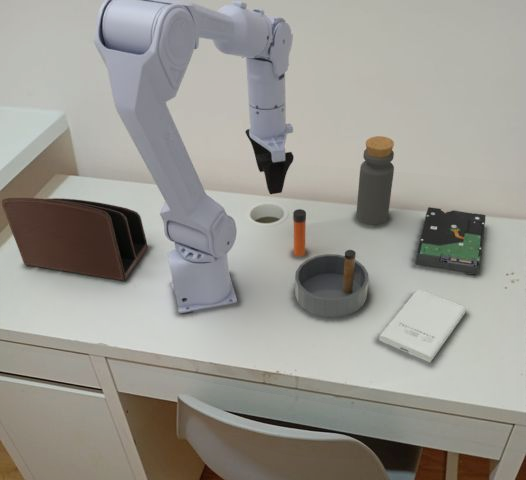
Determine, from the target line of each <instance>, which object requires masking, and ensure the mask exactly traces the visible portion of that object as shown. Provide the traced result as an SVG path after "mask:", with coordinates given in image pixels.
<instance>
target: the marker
mask: <svg viewBox="0 0 526 480" xmlns="http://www.w3.org/2000/svg"><path fill="white" fill-rule="evenodd" d="M292 213H293V214H292V219H293V255H295V256H297V257H303V256H305V255H306V223H307V222H306V221H307V212H306V210H304V209H301V208H298V209H295V210H294V211H293V212H292Z"/></svg>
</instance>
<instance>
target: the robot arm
mask: <svg viewBox="0 0 526 480" xmlns="http://www.w3.org/2000/svg"><path fill="white" fill-rule="evenodd" d="M247 6H248V5H247V2H243V1H238V0H232V1H231V4H225V5H223V6H221V7H220V8H219V9H218V10H214V9H211V8H209V7H205V6H203V5H200V4H198V3H194V2H192V1H188V0H187V1H186V0H103V2H102V3H101V4H100V7H99V9H98V13H97V17H96V23H95V28H94V33H93V34H94V35H93V40H92V41H93V44H94V46H95V48H96V50H97V51H98V53H99V55H100V57H101V60H102V61H103V64H104V65H105V67H106V69H107V74H108V79H109V85H110V89H111V94H112V100H113V103H114V107H115V110H116V112H117V114H118V116H119V118H120V120H121V122H122V124H123V125H124V127H125V129H126V131H127V133H128V135H129V136H130V138H131V140H132V142H133V144H134V146H135V147H136V149H137V152H138V153H139V155H140V157H141V158H142V161H143V162H144V164H145V166H146V168H147V169H148V170H147V171H149V173H150V175H151V178H152V179H153V181H154V183H155V184H156V186H157V188H158V190H159V192H160V194H161V196H162V197H163V199H164V201H165V202H164V203H163V205H162V207H161V209H160V210H159V211H160V212H159V215H160V217H161V219H162V223H163V232H164V235H165V238H166V239H167V240H169V241H170V242H173V243H174V247H175V249H172V250H170V251H167V252H166V253H167V259H168V264H169V270H170V275H171V280H172V282H171V283H170V285H171V291H172V294H173V295H175V299H176V300H175V301H176V305H177V310H178V313H179V314H184V313H190V312H194V311H198V310H205V309H210V308H215V307H221V306H226V305H232V304H237V302H238V299H237V294H236V292H235V289H234V285H233V282H232V278H231V275H230V268H229V260H228V259H229V258H228V254H229V253H230V251H231V250H232V248H233V247H234V245H235V242H236V239H237V232H238V231H237V224H236V221H235V219H234V218H233V217H232V216H230V215H229V214H228V213H227V212H226V210H225V208H224V206H222V205H221V204H220V203H219V202H217V200H214V198H212V196H209V194H207V193H206V190H205V188H204V186H203V184H202V182H201V179H200V177H199V175H198V173H197V171H196V169H195V165H194V163H193V161H192V159H191V157H190V155H189V152H188V150H187V148H186V145H185V144H184V141H183V139H182V137H181V134H180V132H179V130H178V127H177V126H176V123H175V121H174V119H173V117H172V114H171V112H170V109H169V107H168V105H167V102H168V101H171V100H173V99H174V98H175V97H176V96H177V93H178V91H179V88H180V86H181V84H182V82H183V79H184V78H185V77H184V76H185V75H186V71H187V70H188V67H189V64H190V62H191V60H192V57H193V54H194V51H195V50H197V49H198V48H199V46H200V45H199V43H200V39H205V40H211V41H212V43H213V44H214V47H215V48H216V49H217V50H218V51H219V52H221V53H222V54H226V55H229V56H230V55H231V56H236V57H241V58H242V59H244V58H245V63H246V64H245V66H246V80H247V81H246V82H247V96H248V97H247V98H248V114H249V116H248V117H249V128H247V129H246V130H245V134H246V137H247V138H248V140H249V141H250V144H251V146H252V150H253V153H254V157H255V162H256V165H257V169H258V171H259V173H263V174H264V178H265V183H266V187H267V191H268V194H269V195H275V194H281V193H283V190H284V185H285V181H286V177H287V174H288V171H289V169H290V167H291V164H293V162H294V154H293V152H292V151H288V152H287V151H286V148H285V145H286V142H287V141H286V140H287V136H288V134H293V132H294V127H293V125H292V124H291V123H287V113H286V111H287V110H286V109H287V107H286V72H287V71H288V69H289V65H290V64H289V61H290V60H289V59H290V53H291V50H292V45H293V41H294V40H293V38H294V35H293V33H292V29H291V26H290V24H289V23H287V22H286V20H285V18H283V17H280V16H274V15H273V16H272V15H265V10H264V9H262V8H255V7H254V8H253V9H252V10H251V9H248V8H247Z"/></svg>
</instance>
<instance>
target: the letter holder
mask: <svg viewBox="0 0 526 480" xmlns="http://www.w3.org/2000/svg"><path fill="white" fill-rule="evenodd" d="M1 207H2V208H3V211H4V214H5V216H6V219H7V222H8V224H9V228H10V231H11V233H12V236H13V238H14V241H15V243H16V246H17V249H18V251H19V254H20V256H21V259H22V262H23V264H24V265H25V266H31V267H35V268H43V269H50V270H57V271H63V272H68V273H75V274H80V275H86V276H92V277H97V278H105V279H109V280H115V281H116V280H117V281H121V282H126V280H127V278H128V277H129V276H130V274H131V273H132V271H134V268H135V267H136V265H137V264H138V263H139V261H140V260H141V258H142V257H143V255H144V254H145V252H146V251H147V250H148V247H149V246H148V241H147V237H146V233H145V229H144V225H143V221H142V217H141V215H140V214H139V212H137V211H135V210H133V209H130V208H127V207H123V206H118V205H114V204H109V203H104V202H97V201H92V200H84V199H74V198H61V197H59V198H57V197H56V198H36V197H6V198H4V199H2V201H1Z"/></svg>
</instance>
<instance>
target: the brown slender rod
mask: <svg viewBox="0 0 526 480" xmlns="http://www.w3.org/2000/svg"><path fill="white" fill-rule="evenodd" d="M356 254H357V253H356V251H355V250H353V249H347V250H345V251H344V256H345V261H344V275H343V289H342V291H343V292H344V293H351V292H352V289H353V277H354V266H355V260H356V256H357V255H356Z"/></svg>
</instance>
